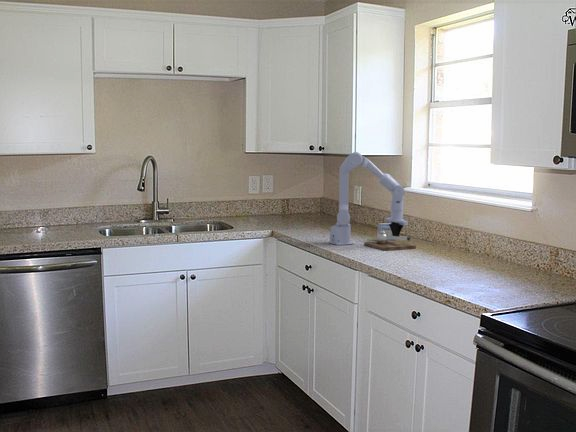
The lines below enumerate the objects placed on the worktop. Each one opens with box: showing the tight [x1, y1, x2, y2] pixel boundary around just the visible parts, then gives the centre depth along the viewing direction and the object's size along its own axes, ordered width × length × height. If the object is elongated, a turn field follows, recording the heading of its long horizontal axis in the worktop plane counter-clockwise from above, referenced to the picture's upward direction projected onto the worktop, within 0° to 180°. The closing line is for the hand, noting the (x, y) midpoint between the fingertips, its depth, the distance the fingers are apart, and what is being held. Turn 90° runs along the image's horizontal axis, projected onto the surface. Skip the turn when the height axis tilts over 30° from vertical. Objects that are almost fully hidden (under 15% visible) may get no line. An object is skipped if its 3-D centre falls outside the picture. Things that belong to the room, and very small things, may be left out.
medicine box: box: [376, 222, 394, 241], centre depth 330 cm, size 8×4×9 cm, turn 105°
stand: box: [363, 240, 417, 252], centre depth 311 cm, size 18×16×2 cm
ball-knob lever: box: [376, 231, 411, 244], centre depth 310 cm, size 16×5×6 cm, turn 78°
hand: (395, 238), depth 315 cm, fingers closed
